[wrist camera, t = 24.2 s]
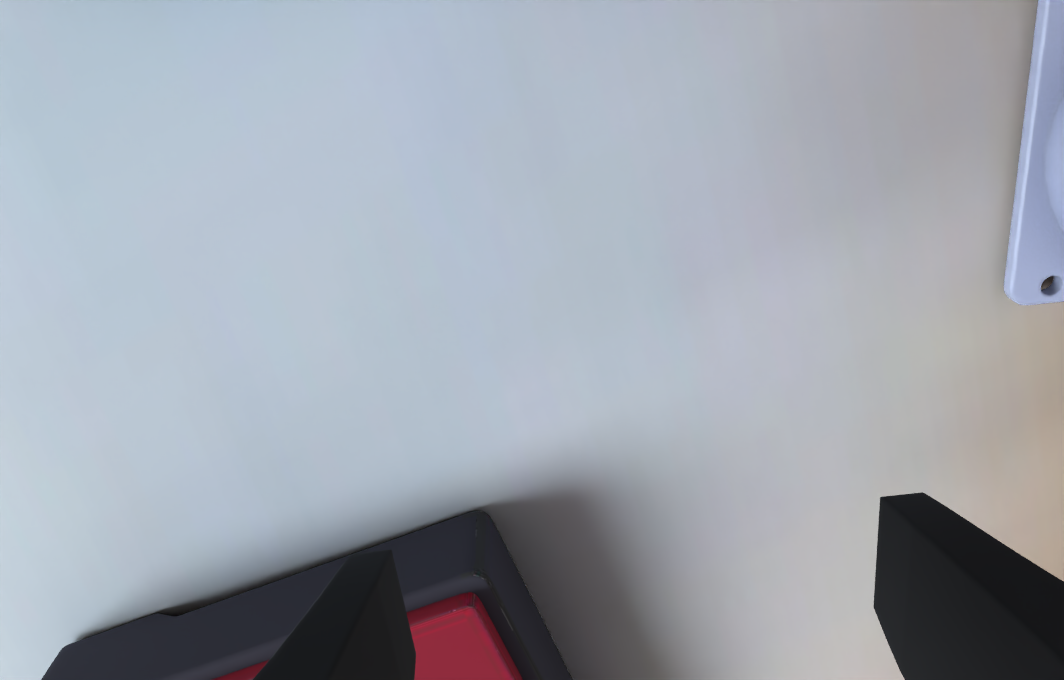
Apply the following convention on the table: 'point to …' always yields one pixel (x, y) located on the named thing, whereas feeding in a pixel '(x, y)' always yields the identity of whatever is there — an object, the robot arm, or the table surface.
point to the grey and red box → (275, 609)
